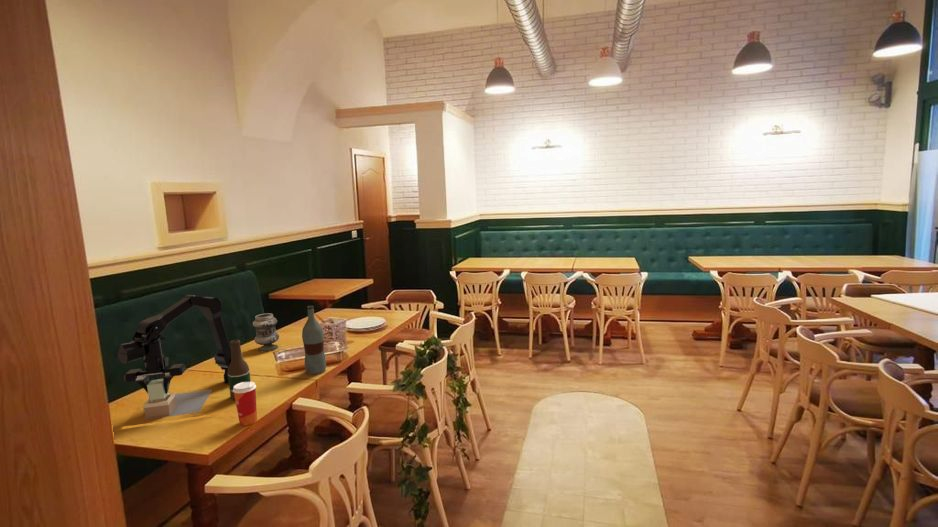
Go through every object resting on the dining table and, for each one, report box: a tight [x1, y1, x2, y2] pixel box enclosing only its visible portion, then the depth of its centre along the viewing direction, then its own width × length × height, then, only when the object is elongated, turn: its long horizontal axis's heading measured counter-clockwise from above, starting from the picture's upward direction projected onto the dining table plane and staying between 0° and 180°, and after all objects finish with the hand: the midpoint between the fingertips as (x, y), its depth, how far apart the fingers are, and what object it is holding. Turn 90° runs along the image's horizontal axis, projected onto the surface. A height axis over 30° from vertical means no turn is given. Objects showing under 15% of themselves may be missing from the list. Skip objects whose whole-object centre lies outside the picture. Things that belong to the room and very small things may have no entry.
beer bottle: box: [228, 339, 252, 401], centre depth 197 cm, size 8×8×24 cm
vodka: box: [301, 305, 327, 375], centre depth 223 cm, size 9×9×30 cm
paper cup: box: [233, 381, 258, 427], centre depth 177 cm, size 8×8×14 cm
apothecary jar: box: [252, 312, 280, 353], centre depth 259 cm, size 12×12×18 cm
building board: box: [143, 389, 214, 421], centre depth 194 cm, size 18×22×6 cm
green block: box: [147, 378, 170, 401], centre depth 186 cm, size 5×5×6 cm
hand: (158, 394), depth 186 cm, fingers closed on green block, 5 cm apart
